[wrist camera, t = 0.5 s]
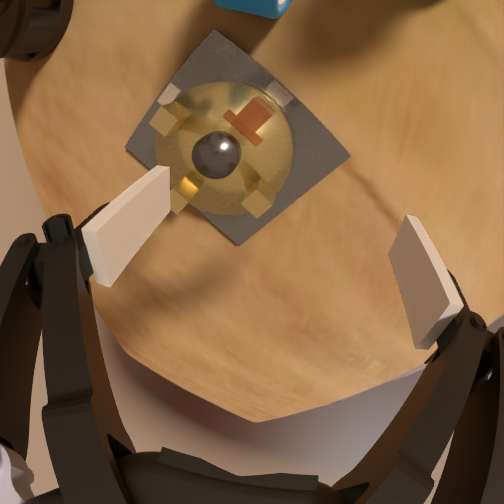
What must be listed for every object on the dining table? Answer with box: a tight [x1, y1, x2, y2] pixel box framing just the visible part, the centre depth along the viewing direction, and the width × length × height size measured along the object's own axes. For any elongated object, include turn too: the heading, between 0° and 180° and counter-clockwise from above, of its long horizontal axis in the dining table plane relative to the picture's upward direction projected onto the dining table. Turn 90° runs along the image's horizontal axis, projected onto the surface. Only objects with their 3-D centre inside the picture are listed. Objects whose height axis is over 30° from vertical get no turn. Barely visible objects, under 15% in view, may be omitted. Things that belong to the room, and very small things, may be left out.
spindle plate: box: [125, 29, 351, 246], centre depth 33 cm, size 22×20×1 cm
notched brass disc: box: [149, 82, 293, 218], centre depth 29 cm, size 16×16×6 cm
